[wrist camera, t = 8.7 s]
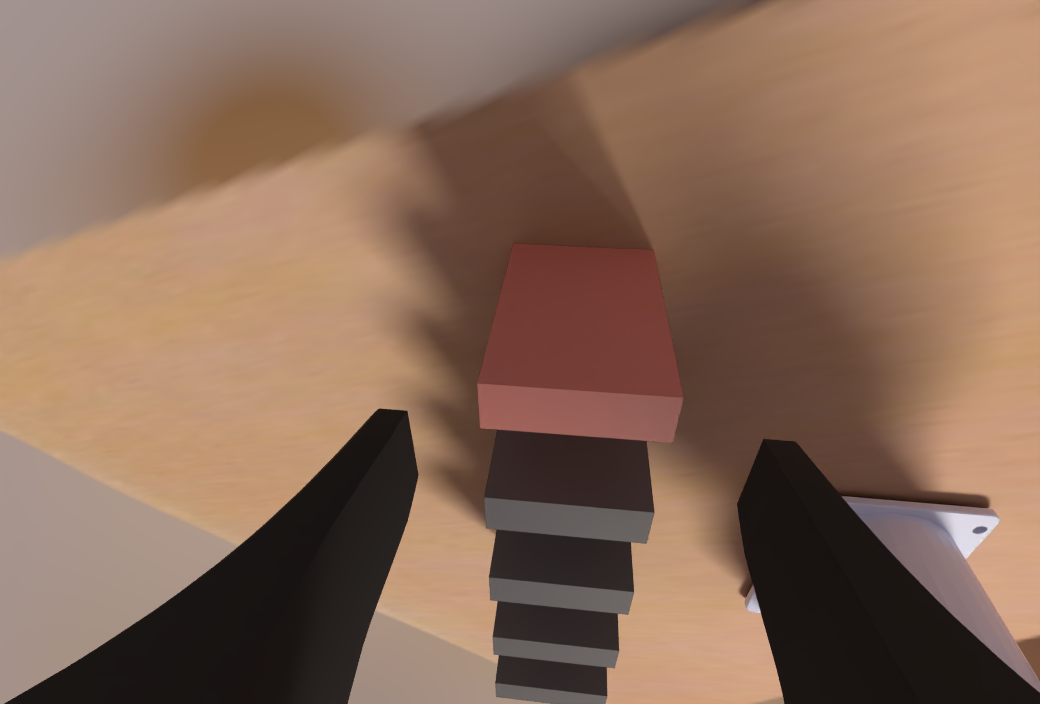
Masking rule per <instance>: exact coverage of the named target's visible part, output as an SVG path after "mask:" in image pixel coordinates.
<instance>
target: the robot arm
mask: <svg viewBox="0 0 1040 704" xmlns="http://www.w3.org/2000/svg"><path fill="white" fill-rule="evenodd" d="M417 479H418V470H417V464H416V458H415V452H414V447H413V441H412V435H411V429H410V423H409V417H408V412H407V411H403V410H391V409H378V410H377V411H376V412H375V413H374V414H373V415H372V416H371V417H370V418H369V419H368V420H367V421H366V422H365V423H364V425H363V426H362V427H361V428H360V429H359V430H358V431H357V432H356V433H355V434H354V436H353V437H352V438H351V439H350V440H349V441H348V442H347V443H346V444H345V445H344V446H343V447H342V449H341V450H340V451H339V452H338V453H337V454H336V455H335V456H334V457H333V458H332V459H331V460H330V461H329V462H328V463H327V464H326V465H325V466H324V467H323V468H322V469H321V470H320V471H319V472H318V473H317V474H316V476H315V477H314V478H313V479H312V480H311V481H310V482H309V483H308V484H307V485H306V486H305V487H304V488H303V489H302V490H301V491H300V492H299V493H297V494H296V495H295V496H294V497H293V498H292V499H291V500H290V501H289V502H288V503H287V504H286V505H285V506H284V507H282V508H281V509H280V510H279V511H278V512H277V513H276V514H275V515H274V516H273V517H272V518H271V519H270V520H269V521H267V522H266V523H265V524H264V525H263V526H262V527H261V528H260V529H258V530H257V531H256V532H255V533H254V534H253V535H252V536H250V537H249V538H248V539H247V540H246V541H244V542H243V543H242V544H241V545H240V546H239V547H237V548H236V549H235V550H234V551H233V552H231V553H230V554H229V555H227V556H226V557H225V558H224V559H223V560H221V561H220V562H219V563H218V564H216V565H215V566H214V567H213V568H211V569H210V570H209V571H207V572H206V573H205V574H203V575H202V576H201V577H199V578H198V579H197V580H196V581H194V582H193V583H191V584H190V585H189V586H187V587H186V588H185V589H184V590H182V591H181V592H180V593H178V594H177V595H175V596H174V597H173V598H171V599H170V600H168V601H167V602H166V603H164V604H163V605H161V606H160V607H159V608H157V609H156V610H154V611H153V612H151V613H150V614H148V615H147V616H145V617H144V618H142V619H141V620H139V621H138V622H136V623H135V624H133V625H132V626H130V627H129V628H127V629H126V630H124V631H123V632H121V633H120V634H118V635H117V636H115V637H114V638H112V639H110V640H109V641H107V642H106V643H104V644H103V645H101V646H100V647H98V648H97V649H95V650H94V651H92V652H91V653H89V654H87V655H86V656H84V657H83V658H81V659H79V660H78V661H76V662H75V663H73V664H71V665H70V666H68V667H67V668H65V669H63V670H61V671H60V672H58V673H56V674H54V675H53V676H51V677H49V678H48V679H46V680H44V681H43V682H41V683H39V684H37V685H36V686H34V687H32V688H31V689H29V690H27V691H25V692H24V693H22V694H20V695H18V696H17V697H15V698H13V699H12V700H10V701H8V702H6V703H5V704H348V700H349V696H350V692H351V688H352V685H353V681H354V677H355V673H356V670H357V666H358V662H359V658H360V654H361V651H362V647H363V644H364V641H365V638H366V634H367V631H368V628H369V625H370V622H371V619H372V617H373V614H374V611H375V609H376V606H377V603H378V601H379V598H380V595H381V592H382V590H383V587H384V584H385V582H386V579H387V576H388V573H389V571H390V568H391V565H392V563H393V560H394V557H395V555H396V552H397V549H398V546H399V543H400V541H401V538H402V535H403V532H404V530H405V527H406V524H407V521H408V517H409V513H410V509H411V505H412V501H413V497H414V493H415V488H416V484H417ZM737 506H738V513H739V520H740V528H741V534H742V541H743V547H744V553H745V557H746V561H747V564H748V568H749V572H750V575H751V579H752V583H753V585H752V587H751V589H750V591H749V593H748V595H747V597H746V599H745V606H746V609H747V610H749V611H751V612H757V613H761V615H762V618H763V622H764V626H765V629H766V633H767V636H768V640H769V643H770V647H771V650H772V654H773V658H774V661H775V665H776V668H777V672H778V677H779V681H780V685H781V689H782V693H783V698H784V704H1040V681H1039V679H1038V678H1037V676H1036V674H1035V673H1034V671H1033V669H1032V668H1031V666H1030V664H1029V663H1028V661H1027V659H1026V658H1025V656H1024V655H1023V653H1022V651H1021V650H1020V648H1019V646H1018V645H1017V643H1016V641H1015V640H1014V638H1013V636H1012V635H1011V633H1010V632H1009V630H1008V628H1007V627H1006V625H1005V623H1004V622H1003V620H1002V618H1001V617H1000V615H999V613H998V612H997V610H996V609H995V607H994V605H993V604H992V602H991V600H990V599H989V597H988V595H987V594H986V592H985V590H984V589H983V587H982V586H981V584H980V582H979V581H978V579H977V577H976V576H975V574H974V572H973V571H972V569H971V567H970V566H969V564H968V563H967V561H966V558H967V557H968V556H969V555H970V554H971V553H972V552H973V551H974V549H975V548H976V547H977V546H978V545H979V544H980V543H981V542H982V541H983V540H984V539H985V537H986V536H987V535H988V534H989V533H990V532H991V531H992V530H993V529H994V528H995V527H996V526H997V524H998V523H999V521H1000V518H999V516H998V515H997V514H996V512H995V511H994V510H992V509H988V508H977V507H965V506H954V505H942V504H930V503H918V502H907V501H895V500H883V499H871V498H860V497H848V496H841V495H840V494H839V493H838V492H837V490H836V489H835V488H834V487H833V486H832V484H831V483H830V482H829V481H828V480H827V478H826V477H825V476H824V475H823V474H822V473H821V471H820V470H819V469H818V468H817V467H816V465H815V464H814V463H813V462H812V461H811V459H810V458H809V457H808V456H807V455H806V453H805V452H804V451H803V450H802V449H801V447H800V446H799V445H798V444H797V443H796V442H794V441H781V440H768V439H763V441H762V444H761V446H760V449H759V451H758V454H757V456H756V459H755V461H754V464H753V466H752V469H751V471H750V474H749V476H748V479H747V481H746V484H745V486H744V489H743V491H742V493H741V496H740V498H739V501H738V503H737Z"/></svg>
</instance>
